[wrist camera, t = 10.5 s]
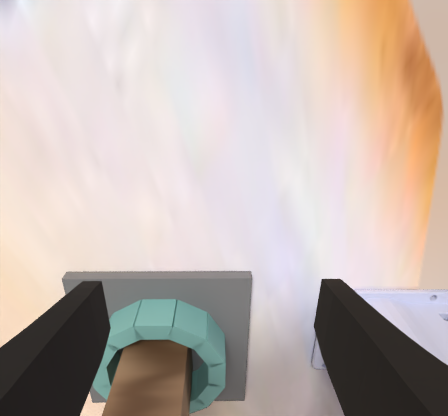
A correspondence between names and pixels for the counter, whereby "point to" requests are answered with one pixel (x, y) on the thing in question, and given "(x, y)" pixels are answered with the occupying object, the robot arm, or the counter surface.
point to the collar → (178, 325)
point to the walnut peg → (152, 380)
